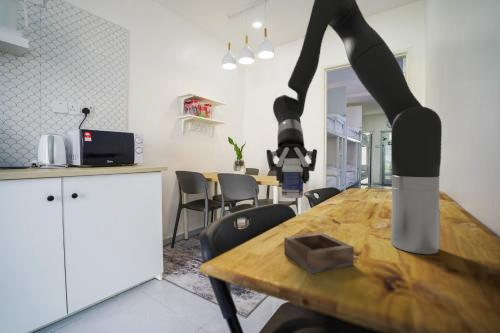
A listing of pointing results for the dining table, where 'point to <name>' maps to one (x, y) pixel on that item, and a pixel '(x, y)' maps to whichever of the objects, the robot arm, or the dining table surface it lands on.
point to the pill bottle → (292, 179)
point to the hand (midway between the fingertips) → (292, 181)
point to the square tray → (318, 252)
